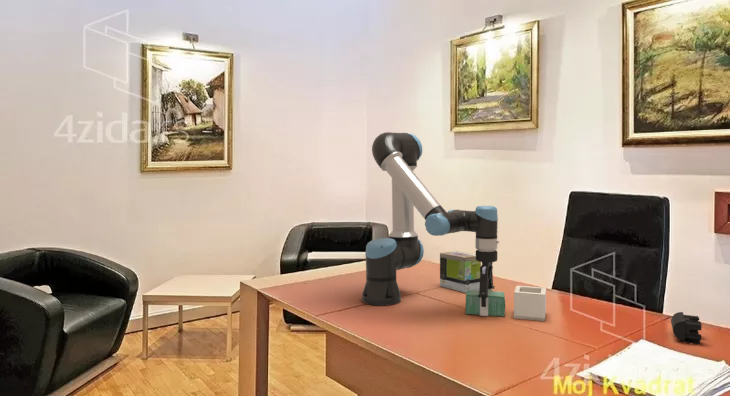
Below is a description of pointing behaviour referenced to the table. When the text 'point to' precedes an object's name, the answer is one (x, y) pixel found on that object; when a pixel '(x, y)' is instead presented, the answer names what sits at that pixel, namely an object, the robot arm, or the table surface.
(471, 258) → the tea box
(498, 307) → the box
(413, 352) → the table surface
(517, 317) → the tub
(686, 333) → the end cap
